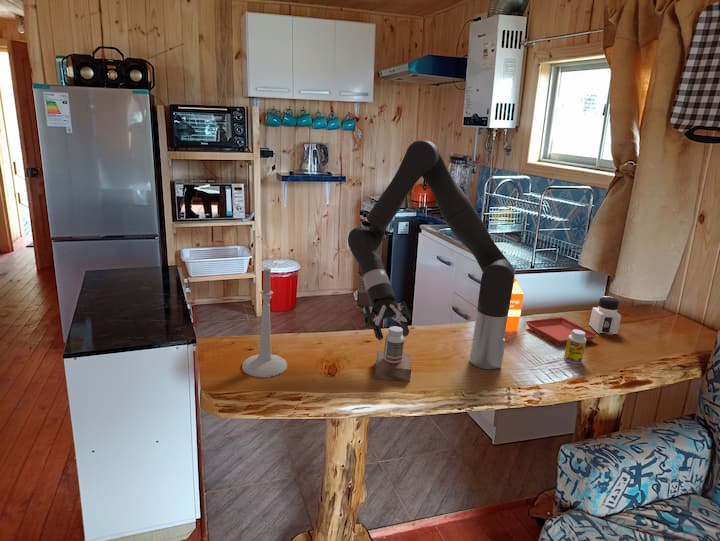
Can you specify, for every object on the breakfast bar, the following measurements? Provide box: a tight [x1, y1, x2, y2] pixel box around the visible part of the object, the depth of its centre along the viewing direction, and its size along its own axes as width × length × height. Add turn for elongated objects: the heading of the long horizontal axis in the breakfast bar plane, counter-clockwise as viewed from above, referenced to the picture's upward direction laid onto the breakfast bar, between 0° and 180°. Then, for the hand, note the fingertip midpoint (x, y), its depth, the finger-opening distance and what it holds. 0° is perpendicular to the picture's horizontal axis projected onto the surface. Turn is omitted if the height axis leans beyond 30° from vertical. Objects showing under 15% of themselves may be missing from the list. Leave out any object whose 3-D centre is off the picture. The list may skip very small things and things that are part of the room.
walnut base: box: [374, 350, 412, 383], centre depth 155 cm, size 10×10×4 cm
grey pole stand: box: [241, 267, 288, 378], centre depth 148 cm, size 13×13×30 cm
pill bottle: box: [383, 325, 405, 363], centre depth 153 cm, size 5×5×10 cm
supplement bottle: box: [563, 329, 587, 365], centre depth 171 cm, size 6×6×10 cm
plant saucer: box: [525, 316, 598, 346], centre depth 192 cm, size 18×18×3 cm
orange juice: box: [505, 277, 525, 332], centre depth 193 cm, size 8×9×20 cm
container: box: [588, 295, 622, 335], centre depth 198 cm, size 8×8×13 cm
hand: (393, 337), depth 153 cm, fingers open, 8 cm apart
